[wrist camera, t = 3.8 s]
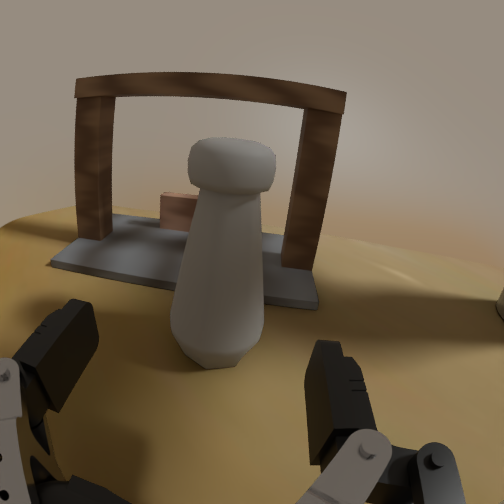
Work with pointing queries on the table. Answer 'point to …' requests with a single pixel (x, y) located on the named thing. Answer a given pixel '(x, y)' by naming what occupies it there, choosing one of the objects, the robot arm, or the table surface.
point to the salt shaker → (223, 253)
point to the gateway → (183, 205)
